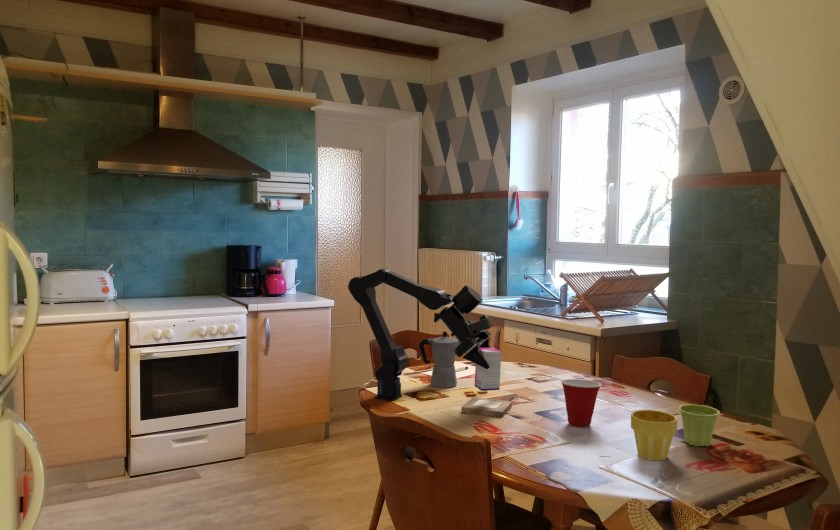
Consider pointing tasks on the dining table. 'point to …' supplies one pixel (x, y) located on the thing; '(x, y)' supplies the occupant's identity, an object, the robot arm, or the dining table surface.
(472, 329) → the robot arm
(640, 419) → the plant pot
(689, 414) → the plant pot
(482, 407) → the base board
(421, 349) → the coffeepot
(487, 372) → the supplement box
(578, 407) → the plastic cup
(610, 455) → the dining table surface
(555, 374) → the dining table surface
